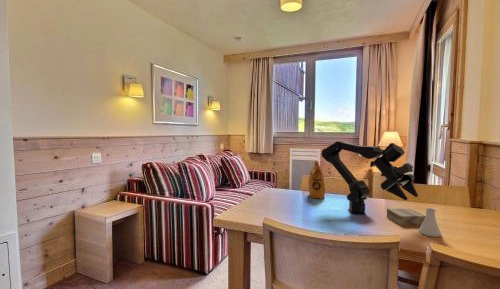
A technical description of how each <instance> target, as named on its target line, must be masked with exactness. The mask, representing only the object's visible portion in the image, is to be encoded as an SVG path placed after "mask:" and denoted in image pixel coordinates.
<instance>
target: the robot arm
mask: <svg viewBox="0 0 500 289" xmlns="http://www.w3.org/2000/svg"><path fill="white" fill-rule="evenodd" d="M342 150H344V151H348V152H350V153H354V154H358V155H360V156H361V157H363V158H364V159H368V160H371V161H370V166H369V167H370V168H373V167H376V169H378V171H379V172H380V173H381V174H380V176H381V177H384V178H385V180H384V181H382V182H381V183H380V188H381V189H382V190H383V191H386V192H388V193H390V194H393V195H394V196H396V197H398V198H399V199H402V200H403V201H407V200H409V199H408V197H407V195H406V194H405V193H404V191H406V192H407V193H409V194H410V195H411V196H413V197H414V198H417V197H419V194H418V192H417V190H416V188H415V186H414V181H415V176H414V175H413V174H412V172H414V169H413V168H414V166H413V165H412V164H411V163H409V162H408V163H407V162H406V163H403V164H402V166H396V165H395V166H394V165H393V164H392V163H395V162H396V161H398V160H399V159H400V158H401V157H403V155H404V154H405V150H404V149H403V148H402V147H400V146H399V145H397V144H395V143H394V142H390V143H389V144H388V146H387V147H386V148H384V149H381V147H379V146H377V145H375V146H374V145H360V144H355V143H352V142H346V141H344V140H337V141H335V142H334V143H332V144H331V145H329V146H327V147H326V148H323V149H322V150H321V158H323V159H324V160H325V161H326V162H328V163H329V164H332V166H333V167H334V169H335V170H336V171H337V172H338V174H339V175H340V176H341V177H342V179H343V180H344V181H345V183H346V184H347V185H348V189H349V192H350V193H348V194H347V195H346V199H347V201H348V202H349V203H348V208H347V211H348V212H350V214H352V215H366V203H365V201H366V200H367V198H368V197H369V195H370V192H371V190H370V188H369V185H367V184H366V182H365V181H364V180H358V179H357V178H356V177H355V176H354V174H353V173H352V172H351V171H350V170H349V169H348V167H347V166H346V165H345V163H344V162H343V161H342V160H341V158H340V153H341V151H342ZM373 159H374V160H373ZM403 190H404V191H403Z"/></svg>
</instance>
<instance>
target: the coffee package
mask: <svg viewBox="0 0 500 289" xmlns="http://www.w3.org/2000/svg"><path fill="white" fill-rule="evenodd" d="M313 163H314V165H313V167H312V168H311V170H310V171H309V177H308V193H309V197H310V198H311V199H315V198H323V199H324V198H325V195H326V186H325V184H326V183H325V179H324V178H325V177H324V173H323V170H322V166H321V165H320V164H319V163H320V161H319V160H316V159H315V160H314V161H313Z"/></svg>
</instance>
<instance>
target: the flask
mask: <svg viewBox="0 0 500 289" xmlns="http://www.w3.org/2000/svg"><path fill="white" fill-rule="evenodd" d="M425 210H426V212H425V213H426V214H425V215H424V216H425V219H424V221H423V223H422V225H420V227H419V228H418V232H419V234H421V235H425V236H427V237H435V238H438V237H442V232H441V231H440V228H439V225H438V222H437V220H436V211H437V210H436V209H434V208H431V207H426V208H425Z"/></svg>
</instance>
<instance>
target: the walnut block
mask: <svg viewBox="0 0 500 289" xmlns="http://www.w3.org/2000/svg"><path fill="white" fill-rule="evenodd" d="M425 216H426V215H425V214H422V213H420V212H418V211H417V210H413V208H412V209H411V208H386V217H387V218H388V219H389V220H391V221H393V222H394V223H395V224H397V225H398V226H421V225H422V223H423V221H424V219H425Z"/></svg>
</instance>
